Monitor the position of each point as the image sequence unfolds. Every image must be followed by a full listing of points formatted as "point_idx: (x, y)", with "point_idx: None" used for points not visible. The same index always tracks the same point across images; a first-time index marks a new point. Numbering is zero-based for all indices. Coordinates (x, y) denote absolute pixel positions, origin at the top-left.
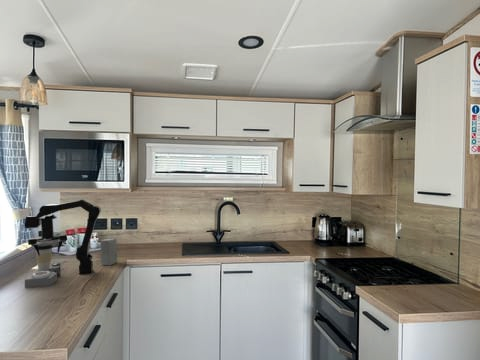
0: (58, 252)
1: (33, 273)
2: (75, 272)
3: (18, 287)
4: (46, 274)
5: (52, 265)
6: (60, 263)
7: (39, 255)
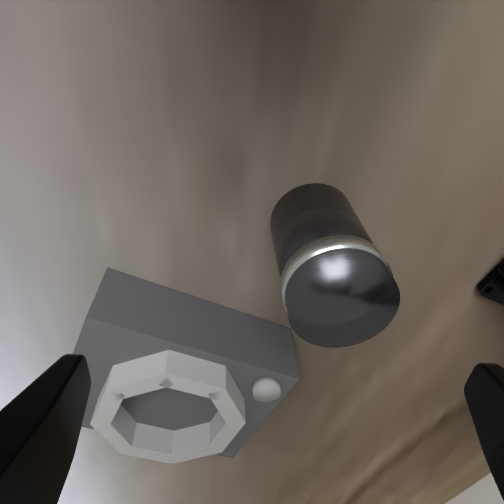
0: (481, 403)
1: (99, 405)
2: (492, 205)
3: (23, 346)
4: (208, 452)
5: (292, 324)
6: (391, 320)
7: (86, 394)
